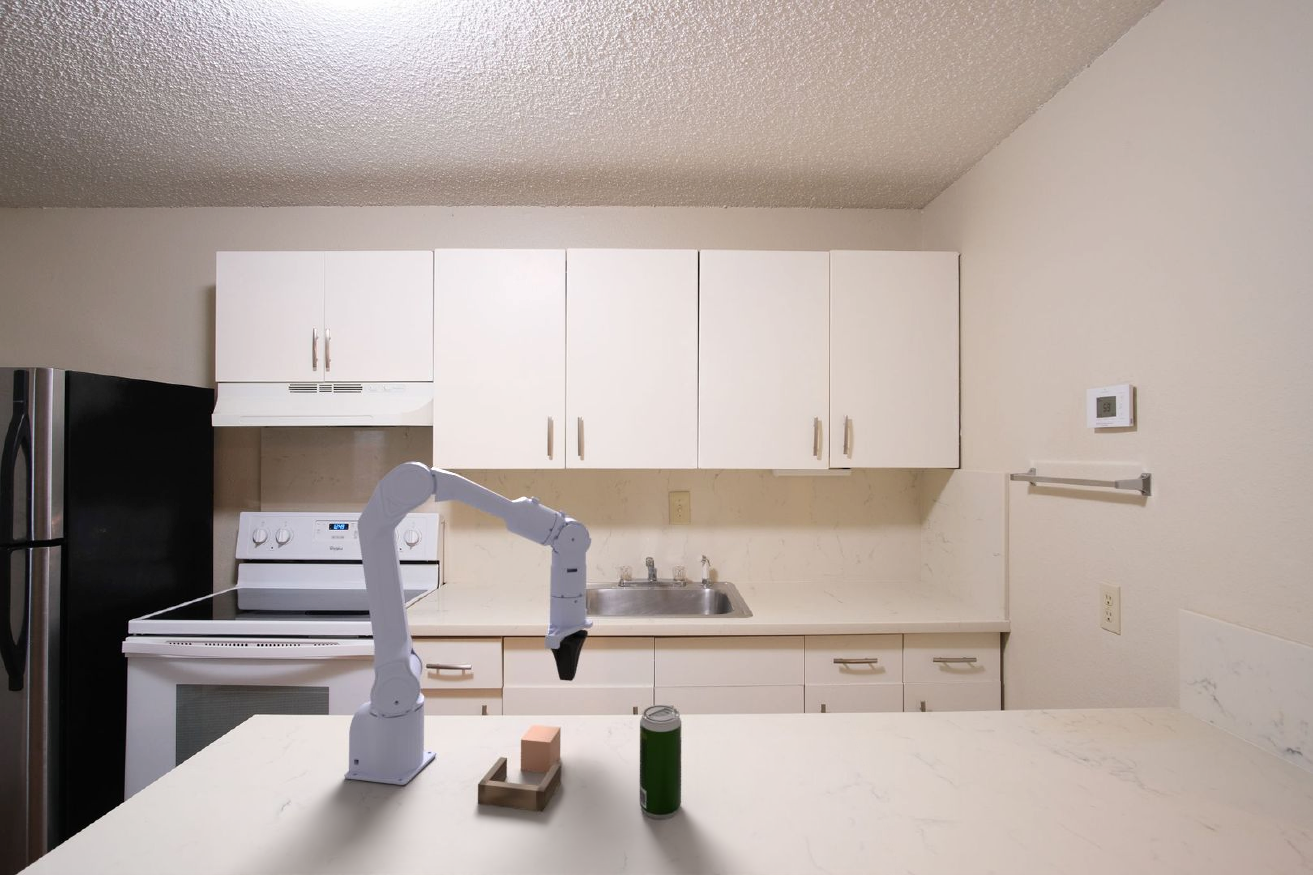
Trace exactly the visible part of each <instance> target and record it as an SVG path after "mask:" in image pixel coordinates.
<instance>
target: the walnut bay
mask: <svg viewBox="0 0 1313 875" xmlns="http://www.w3.org/2000/svg"><path fill="white" fill-rule="evenodd" d="M507 770H508V757H503V756H500V757H499V758H498V759H497V761H495V763H494V764H493V765H492V766H491V768H490V769H489V770H488V771H487V772H486V774H485V775H484V776H483V778H482V779H480V781H479V782H478V784H477V804H480V805H487V806H495V807H505V808H513V809H520V810H529V811H536V812H537V811H538V812H544V811H545V810H546V808H547V806H548V805H549V803H550V802H551V800H552V798H553V796H554V794H555V792H557V789H558V787H559V786H560V784H561V782H562V763H561V762H560V763H558V762H557V763H554V764H553V765H552V767H551V769H550V770H549V772H548V773H546V775H545V776H544V778H543V779H542V781H541V782H540V784H539V785H532V784H524V783H514V782H505V781H504V780H505V779H506V778H507V776H508V775H507V774H508V771H507Z"/></svg>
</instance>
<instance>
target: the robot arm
mask: <svg viewBox="0 0 1313 875" xmlns="http://www.w3.org/2000/svg"><path fill="white" fill-rule="evenodd" d="M432 495H434V503H438V502H439V503H440V502H447V501H449V502H450V501H457V502H460V503H463V504H466V505H468V506H470V507H473V508H475V509H478V510H479V511H482V512H486V513H487V514H490V515H493V516H496V517H498V518H500V519H503V520H504V524H505V526H506V530H507V531H508V532H511V533H512V534H516V535H517V536H519V537H521V538H522V537H523V538H524V539H527V540H529V541H531V542H534V543H536V544H539V545H541V546H543V547H547V546H548V547H549V546H550V548H552V549H551V564H550V580H549V582H550V584H549V585H550V586H549V587H550V589H549V596H550V597H549V620H548V624H547V625H548V627H547V633H546V634H545V637H544V638H545V639H544V648H545V649H550V651H551V652H552V655H553V658H554V662H555V665H556V669H557V674H558V678H559V680H560V681H565V682H566V681H567V682H568V681H569V682H573V680H574V679H575V677H576V674H577V669H578V664H579V660H580V655H581V652H582V649H583V647H584V643H585V641H586V639H587V637H588V635H589V634H588V630H586V629H591V628H592V627H593V625H594V621H593V620H588V609H587V605H586V604H587V559H586V558H587V555H586V554H587V552H588V551H589V550H590V547H591V544H592V538H591V537H590V533H589V530H588V528H587V527H586V526H585V524H584V523H581V522H580V521H578V520H576V519H574V518H572V516H570V515H567V512H566V511H563V510H559V511H556V510H554V509H552V508H549V507H547V506H545V505H543V504H540V502H541V500H540V499H539V498H536V497H534V496H531V497H530V498H529V497H526V496H522V497H520V498H517V499H515V500H511V499H508V498H507V497H504V496H503V495H501V494H499V493H497V492H494V491H493V490H490V489H489V488H486V487H484V486H482V485H480V484H478V483H476V482H474V481H472V480H469V479H468V478H466V477H463V476H462V475H459V474H457V473H453V472H451V471H448V470H444V469H441V468H437V467H433V466H432V468H430V467H428V466H427V465H426V464H424V463H422V462H418V461H408V462H405V463H402V464H399V465H397V466H395V467H394V468H393V469H391V470H390V471H389V472H388V473H387V474H386V475H385V476H383V477H382V478H381V479H380V480H379V481H378V482H377V485H376V486H375V488H374V491H373V492H372V495H371V496H370V498H369V500H368V502H367V503H366V506H365V507H364V509H363V511H362V512H361V515H360V516H359V518H358V520H357V533H358V540H359V545H360V546H359V547H360V553H361V562H362V567H363V575H364V580H365V581H364V582H365V588H366V595H367V596H366V597H367V603H368V609H369V611H368V612H369V617H370V623H371V631H372V638H373V644H374V645H373V646H374V651H373V652H374V655H373V658H374V659H373V668H374V681H373V684H372V686H371V689H370V696H369V697H370V701H367V702H364V703H363V704H362V705H360V706H359V707H358V709H357V710H356V712H355V713H354V714H353V717H352V719H351V723H350V726H349V732H348V733H349V734H348V737H349V738H348V739H349V743H348V771H346V773H345V774H344V778H345V779H350V780H358V781H363V782H364V781H367V782H373V783H381V784H382V783H383V784H389V785H390V784H392V785H400V786H404V785H407V784H408V783H409V782H410V781H411V780H412V779H413V778H414V777H415V776H417V774H418V773H419V772H420V771H422V770H423V768H425V767H426V766H427V765H428V764H429V763H430V762H431V761H432V760H433V759H434V758H435V757H436V756H437V752H436V751H434V750H425V696H424V694H423V693H422V692H421V676H422V674H423V673H422V672H423V661H422V658H421V657H420V655H419V654H418V653H417V651H416V650H415V649H414V645H413V639H412V635H411V633H410V626H409V621H408V613H407V607H406V600H405V591H404V586H403V584H404V583H403V577H402V571H401V564H400V555H399V549H398V542H397V535H396V528H397V527H398V526H399V525H400V524H401V522H402V521H403V520H404V518H406V517H407V515H408V514H409V513H410V512H412V511H414V510H415V509H417V508H419V507H421V506H422V505H423V504H425V503H426V502H427V501H428V500H429V499H430V498H431V496H432Z"/></svg>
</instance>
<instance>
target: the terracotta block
mask: <svg viewBox="0 0 1313 875" xmlns="http://www.w3.org/2000/svg"><path fill="white" fill-rule="evenodd" d="M561 733H562V732H561V727H560V726H548V725H539V724H532V725H531V726H530V727H529V729H528V730H527V731H526V733H525V734H524V735H523V736H522V738H521V739H520V771H526V770H527V771H528V772H539V773H546V774H547V773H548V772H549V770H550V769H551V767H552V765H553V764H554V763H558V761H559V759H560V757H561V736H562V734H561ZM527 771H526V772H527Z"/></svg>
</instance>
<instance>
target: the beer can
mask: <svg viewBox="0 0 1313 875" xmlns="http://www.w3.org/2000/svg"><path fill="white" fill-rule="evenodd" d="M680 715H681V714H680V711H679V710H678V709H677V708H676V707H674V706H670V705H666V704H655V705H650V706H647V707H646V708H644V709H643V710H642V712H641V717H640V720H639V806H640V808H641V811H642V813H643V814H644V815H645V816H647V817H649V818H651V819H653V820H667V819H671V818H673V817H674V816H675V815H677V813H678V812H679V809H681V805H682V720H681V718H680Z"/></svg>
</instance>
